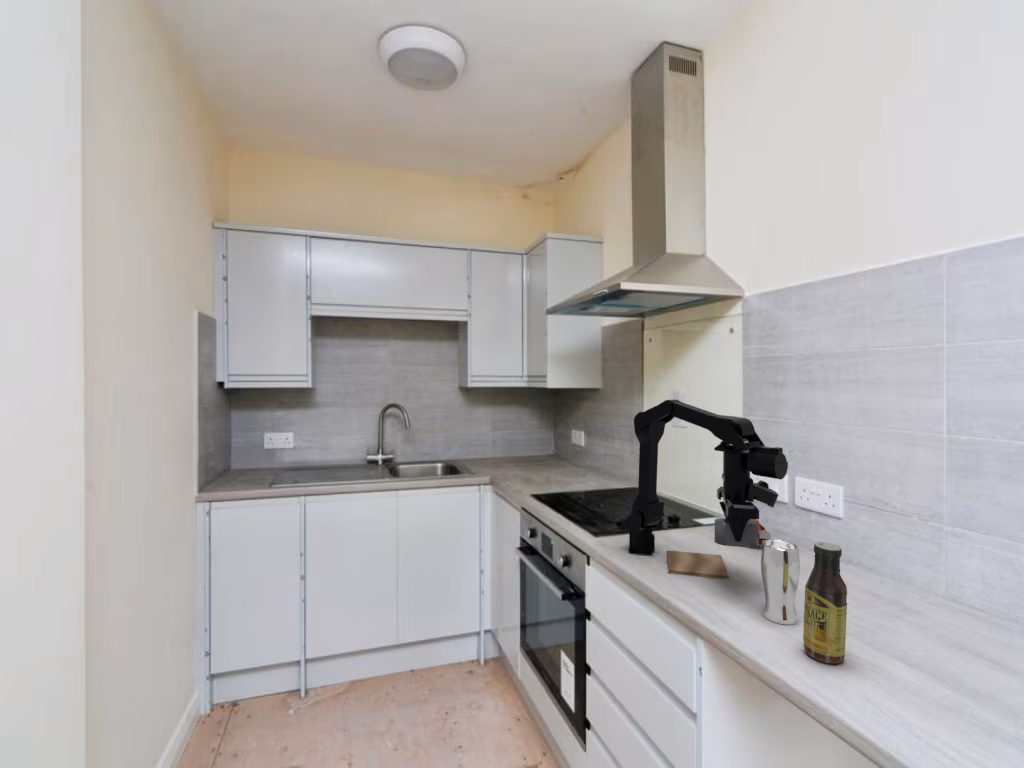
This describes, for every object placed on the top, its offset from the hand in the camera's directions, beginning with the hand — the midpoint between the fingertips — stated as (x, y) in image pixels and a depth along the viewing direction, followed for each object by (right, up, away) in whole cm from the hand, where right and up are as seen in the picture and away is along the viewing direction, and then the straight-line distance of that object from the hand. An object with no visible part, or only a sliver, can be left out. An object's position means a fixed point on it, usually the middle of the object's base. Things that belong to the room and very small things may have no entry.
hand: (736, 538), depth 112 cm
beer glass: (+2, -12, -14) cm, 19 cm away
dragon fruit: (+18, -11, +28) cm, 35 cm away
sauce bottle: (+3, -12, -28) cm, 30 cm away
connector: (+1, -1, 0) cm, 2 cm away
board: (-5, -11, +13) cm, 18 cm away
